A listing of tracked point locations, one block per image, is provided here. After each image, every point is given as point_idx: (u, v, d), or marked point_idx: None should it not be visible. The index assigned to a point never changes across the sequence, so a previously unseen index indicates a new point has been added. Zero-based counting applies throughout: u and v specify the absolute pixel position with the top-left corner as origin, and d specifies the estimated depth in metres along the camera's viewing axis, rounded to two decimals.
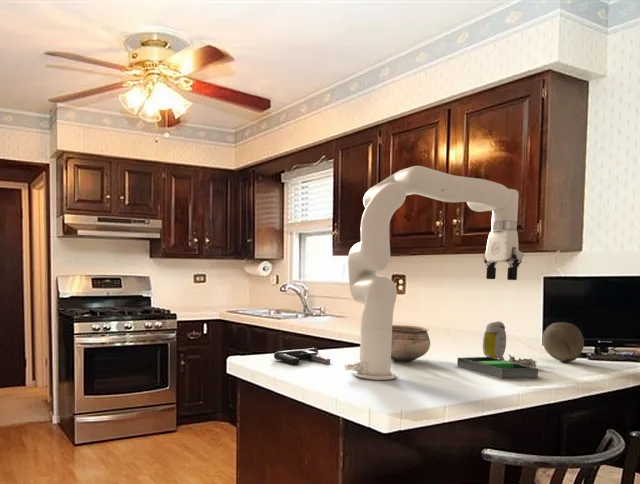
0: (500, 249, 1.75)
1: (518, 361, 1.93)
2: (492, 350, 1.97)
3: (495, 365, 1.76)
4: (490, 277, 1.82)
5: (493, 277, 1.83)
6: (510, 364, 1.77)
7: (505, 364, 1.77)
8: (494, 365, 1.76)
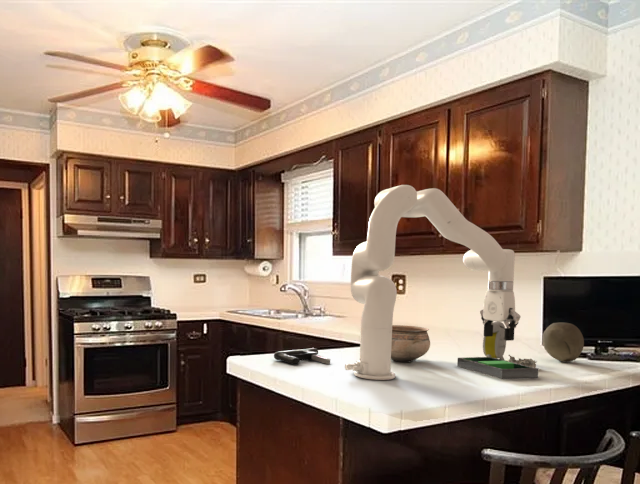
0: (497, 309, 1.75)
1: (518, 361, 1.93)
2: (492, 350, 1.97)
3: (495, 365, 1.76)
4: (487, 335, 1.82)
5: (490, 334, 1.83)
6: (510, 364, 1.77)
7: (505, 364, 1.77)
8: (494, 365, 1.76)
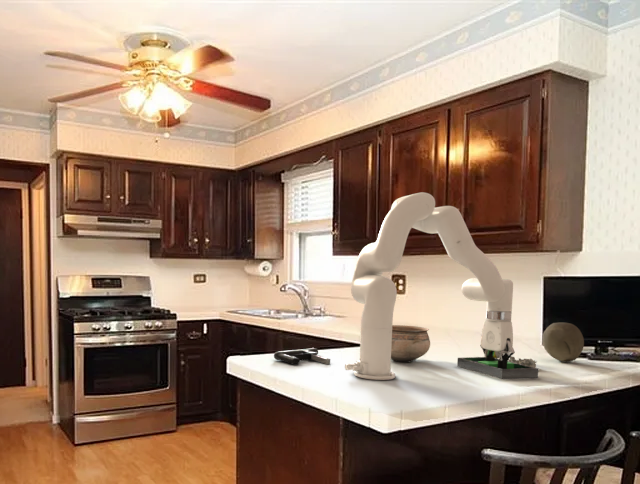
0: (495, 339, 1.75)
1: (518, 361, 1.93)
2: None
3: (495, 365, 1.76)
4: None
5: None
6: (510, 364, 1.77)
7: None
8: (494, 365, 1.76)
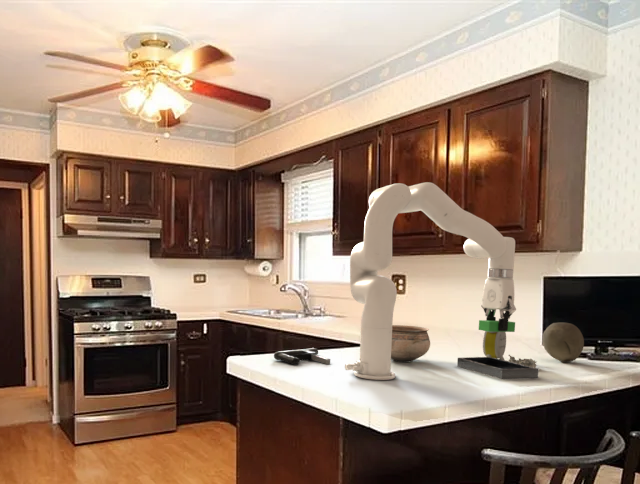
0: (496, 297, 1.74)
1: (518, 361, 1.93)
2: (492, 350, 1.97)
3: (496, 323, 1.75)
4: None
5: None
6: (511, 323, 1.76)
7: None
8: (495, 323, 1.75)
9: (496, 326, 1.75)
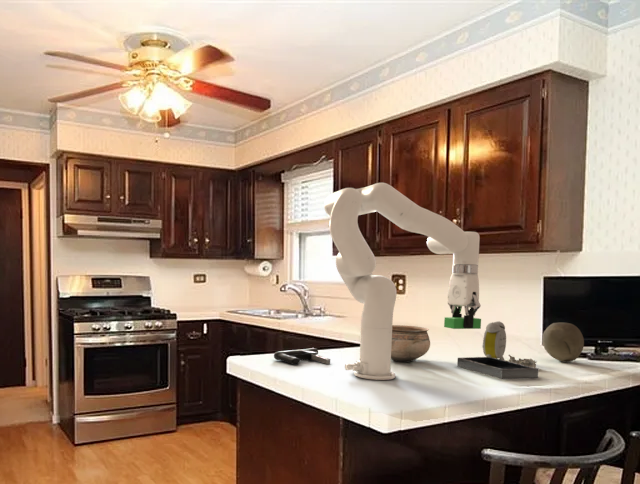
0: (461, 293, 1.70)
1: (518, 361, 1.93)
2: (492, 350, 1.97)
3: (461, 320, 1.70)
4: None
5: None
6: (477, 320, 1.72)
7: None
8: (460, 320, 1.70)
9: (462, 323, 1.70)
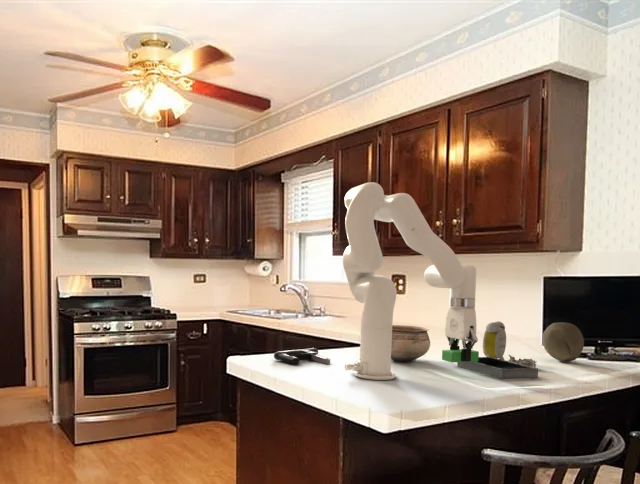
0: (458, 327, 1.70)
1: (518, 361, 1.93)
2: (492, 350, 1.97)
3: (459, 354, 1.71)
4: None
5: None
6: (474, 352, 1.72)
7: None
8: (458, 354, 1.71)
9: (459, 357, 1.71)
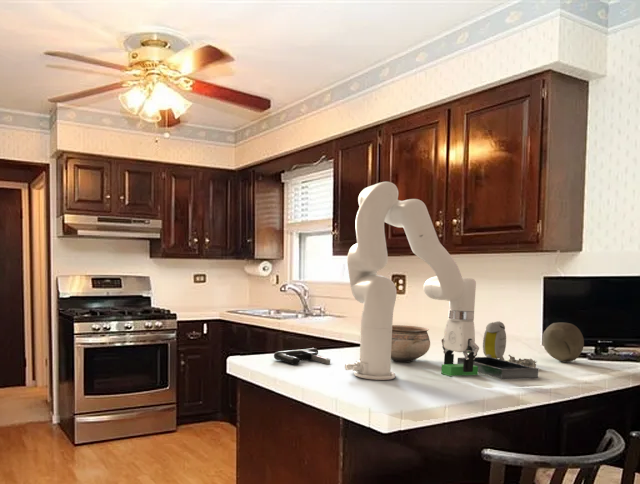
0: (456, 339, 1.71)
1: (518, 361, 1.93)
2: (492, 350, 1.97)
3: (458, 368, 1.71)
4: None
5: None
6: (474, 367, 1.73)
7: None
8: (457, 368, 1.71)
9: (459, 371, 1.71)
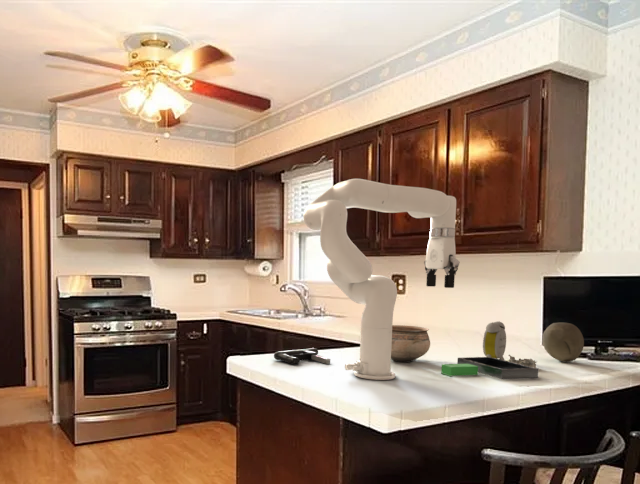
0: (437, 256, 1.73)
1: (518, 361, 1.93)
2: (492, 350, 1.97)
3: (458, 368, 1.71)
4: (430, 284, 1.80)
5: (433, 284, 1.80)
6: (474, 367, 1.73)
7: (468, 367, 1.72)
8: (457, 368, 1.71)
9: (459, 371, 1.71)
